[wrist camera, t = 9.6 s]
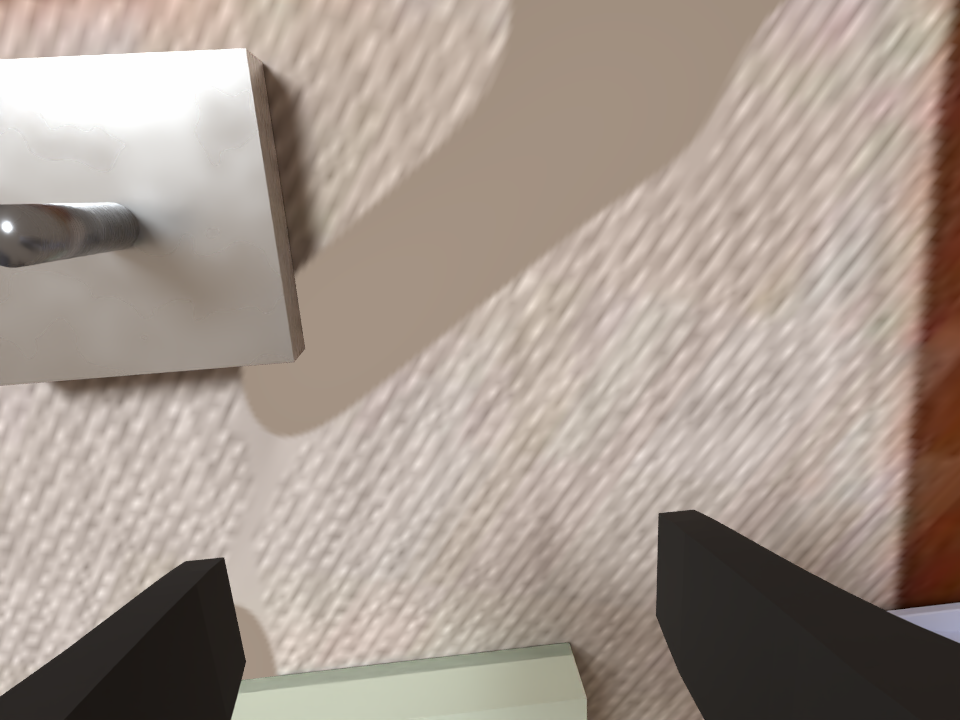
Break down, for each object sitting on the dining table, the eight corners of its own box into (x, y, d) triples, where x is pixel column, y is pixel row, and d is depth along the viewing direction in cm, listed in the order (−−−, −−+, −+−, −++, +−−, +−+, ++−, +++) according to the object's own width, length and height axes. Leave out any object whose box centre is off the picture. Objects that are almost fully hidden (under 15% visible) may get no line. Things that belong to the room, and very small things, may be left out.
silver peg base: (262, 62, 16) (178, -7, 10) (305, 348, 18) (253, 412, 13) (-51, 77, 15) (-306, 13, 10) (32, 370, 17) (-140, 445, 12)
